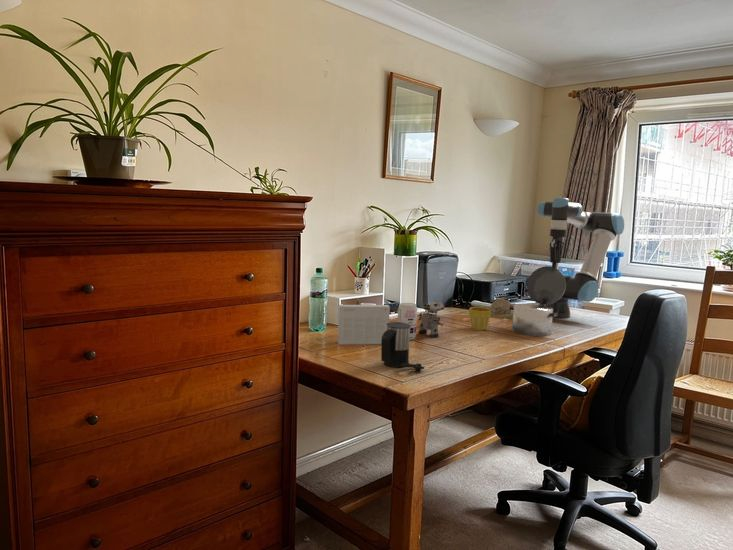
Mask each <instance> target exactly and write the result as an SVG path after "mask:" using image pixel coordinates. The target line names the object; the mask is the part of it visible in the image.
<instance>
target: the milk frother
mask: <svg viewBox="0 0 733 550" xmlns="http://www.w3.org/2000/svg"><path fill="white" fill-rule="evenodd" d="M386 325H387V331H385V332H384V334H383V336H382V340H381V344H380V345H381V346H380V348H381V350H380V351H381V355H380V356H381V357H380V358H381V359H380V360H381V362H383V364H384V365H385V366H389V367H390V368H391V367H392V368H413V369H414V370H415V371H416V372H420V371H421V370H424V369H425V367H424V366H423V365H422V364H421V363H414V364H413V363H409V357H410V355H409V353H410V341H411V340H410V327H411V325H410V324H407V323H401V322H398V321H396V322H395V321H394V322H393V321H391V322H390V321H389V323H387V324H386Z"/></svg>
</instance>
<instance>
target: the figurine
mask: <svg viewBox="0 0 733 550" xmlns="http://www.w3.org/2000/svg"><path fill="white" fill-rule="evenodd" d="M422 308H423V310H425V311H427V312H426V313H425V312H423V311H421V312H420V313H419V316H418V321H421V322H420V325H419V327H418V328H419V329H418V332H417V333H418V334H419V335H423V334H427V333H428V331H430V334H429V337H430V338H438V337H440V336H439V335H440V334H439V329H438V328H439V326H441V327H444V323H445V322H444V321H443V323H442V322H440V321H441V317H440V316H438V315H437V314H438V312H439V311H441V310H444V309H445V306H444V304H443V303H442V301H438V300H434V301H432V302H428V303H425V304H424V305H423V306H422Z"/></svg>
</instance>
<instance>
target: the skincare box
mask: <svg viewBox="0 0 733 550" xmlns="http://www.w3.org/2000/svg"><path fill="white" fill-rule="evenodd" d="M390 311H391V306H390V305H388V304H338V315H337V316H338V317H337V319H338V320H337V322H338V323H337V343H338V345H381V340H382V336H383V334H384V332H385V331H387V325H386V324H387V323H390Z"/></svg>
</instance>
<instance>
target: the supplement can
mask: <svg viewBox="0 0 733 550" xmlns="http://www.w3.org/2000/svg"><path fill="white" fill-rule="evenodd" d="M397 309H398V312H397V322H401V323H407V324H410V325H411V327H410V340H409V341H412V340H414V339H416V336H417V321H418V307H417V304H416V303H412V302H411V303H410V302H401V303H400V304H399V306H398V308H397Z"/></svg>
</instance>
